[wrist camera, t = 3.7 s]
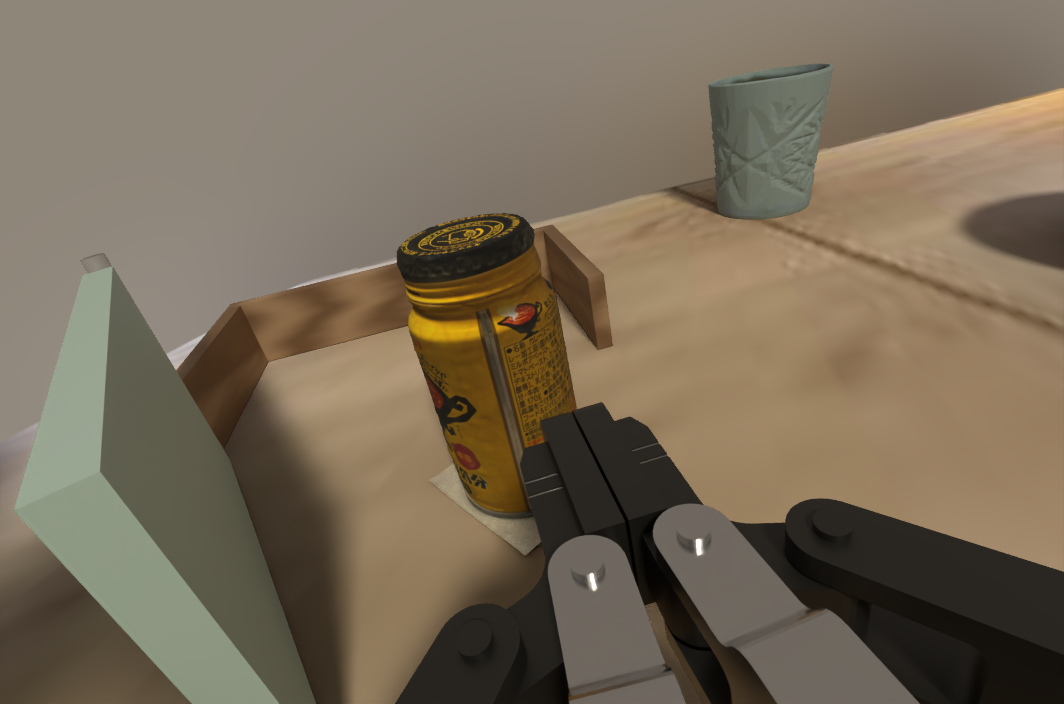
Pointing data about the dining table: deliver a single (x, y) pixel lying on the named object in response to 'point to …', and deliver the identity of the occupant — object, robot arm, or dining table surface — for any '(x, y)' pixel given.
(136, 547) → the cover door
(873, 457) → the dining table surface
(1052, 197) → the dining table surface
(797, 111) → the blue-grey cup
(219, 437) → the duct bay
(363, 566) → the dining table surface
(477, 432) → the condiment
